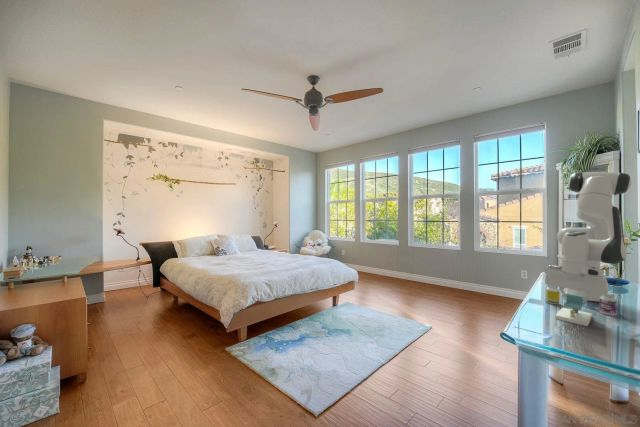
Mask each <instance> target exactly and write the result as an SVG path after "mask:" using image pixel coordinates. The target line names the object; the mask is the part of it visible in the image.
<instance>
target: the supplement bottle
mask: <svg viewBox="0 0 640 427" xmlns="http://www.w3.org/2000/svg"><path fill="white" fill-rule="evenodd" d="M560 293H561V291H560V290H559V287H556V286H550V285H547V287H546V288H545V303H548V304H551V305H560Z"/></svg>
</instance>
